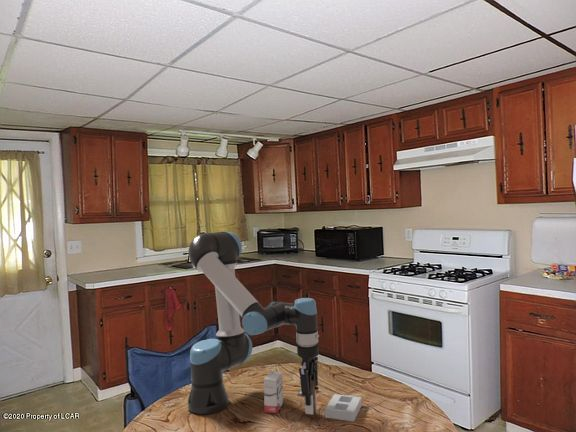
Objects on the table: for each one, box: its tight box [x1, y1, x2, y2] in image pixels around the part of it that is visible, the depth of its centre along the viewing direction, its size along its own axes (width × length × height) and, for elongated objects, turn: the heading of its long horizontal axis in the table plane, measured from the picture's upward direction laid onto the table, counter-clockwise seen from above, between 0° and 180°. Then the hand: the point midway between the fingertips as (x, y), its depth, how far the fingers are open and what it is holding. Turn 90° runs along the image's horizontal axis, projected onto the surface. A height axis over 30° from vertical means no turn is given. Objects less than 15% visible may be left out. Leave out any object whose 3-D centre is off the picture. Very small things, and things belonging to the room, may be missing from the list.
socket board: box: [324, 393, 363, 422], centre depth 146 cm, size 10×12×3 cm
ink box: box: [263, 370, 284, 414], centre depth 151 cm, size 9×5×12 cm, turn 165°
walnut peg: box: [306, 379, 317, 419], centre depth 144 cm, size 3×3×12 cm
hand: (311, 411), depth 144 cm, fingers closed on walnut peg, 3 cm apart
